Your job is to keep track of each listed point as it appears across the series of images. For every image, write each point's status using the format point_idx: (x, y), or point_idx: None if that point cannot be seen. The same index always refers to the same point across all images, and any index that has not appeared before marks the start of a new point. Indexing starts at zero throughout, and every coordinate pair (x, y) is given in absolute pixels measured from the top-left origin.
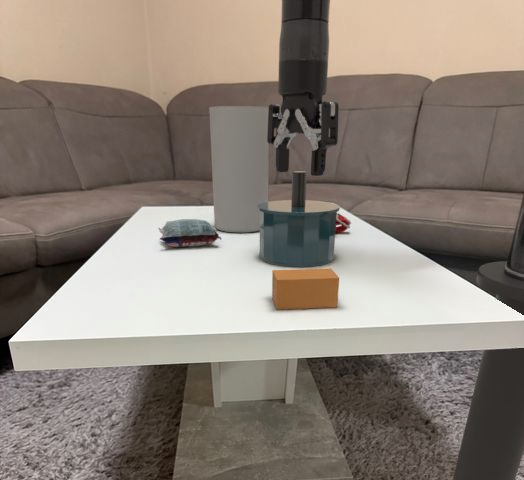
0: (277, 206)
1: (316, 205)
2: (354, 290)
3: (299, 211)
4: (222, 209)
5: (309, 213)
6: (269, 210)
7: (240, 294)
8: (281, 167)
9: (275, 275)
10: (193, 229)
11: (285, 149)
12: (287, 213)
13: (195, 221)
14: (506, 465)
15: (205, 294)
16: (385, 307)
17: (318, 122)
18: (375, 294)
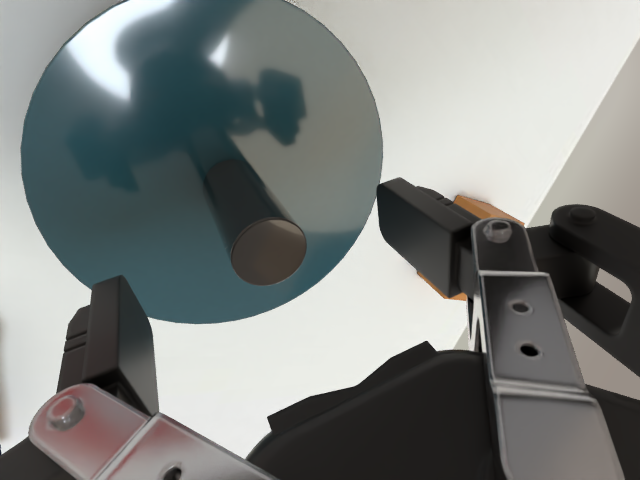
0: (218, 264)
1: (256, 111)
2: (463, 139)
3: (344, 229)
4: None
5: (371, 206)
6: (284, 303)
7: (379, 308)
8: (145, 328)
9: (464, 300)
10: None
11: (136, 388)
12: (334, 263)
13: None
14: None
15: (354, 349)
16: (530, 139)
17: (551, 368)
18: (494, 116)
